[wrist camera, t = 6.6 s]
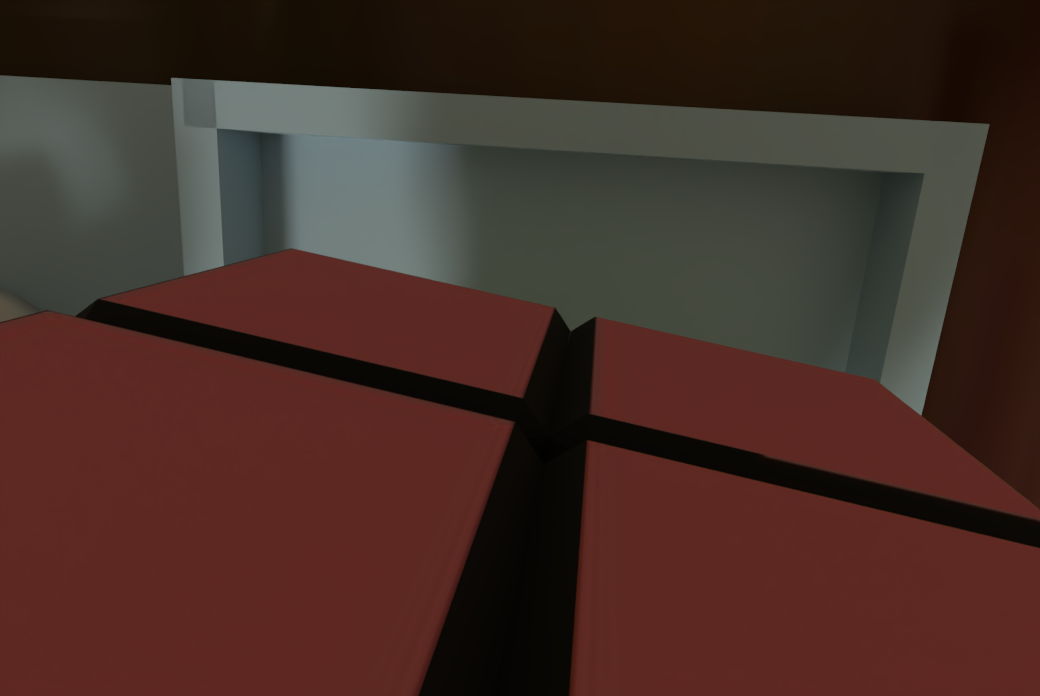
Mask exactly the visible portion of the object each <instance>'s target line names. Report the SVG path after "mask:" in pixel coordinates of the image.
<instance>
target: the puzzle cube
mask: <svg viewBox="0 0 1040 696" xmlns="http://www.w3.org/2000/svg"><path fill="white" fill-rule="evenodd" d="M570 332H571V333H570ZM568 341H569V342H568ZM0 696H1040V509H1039V508H1037V507H1036V506H1035V505H1033V504H1032V503H1031V502H1030V501H1028V500H1027V499H1026V498H1025V497H1023V496H1022V495H1021V494H1020V493H1018V492H1017V491H1016V490H1014V489H1013V488H1012V487H1011V486H1009V485H1008V484H1007V483H1006V482H1004V481H1003V480H1002V479H1001V478H999V477H998V476H997V475H995V474H994V473H993V472H992V471H990V470H989V469H988V468H987V467H985V466H984V465H983V464H982V463H980V462H979V461H978V460H977V459H975V458H974V457H973V456H971V455H970V454H969V453H968V452H966V451H965V450H964V449H963V448H961V447H960V446H959V445H958V444H956V443H955V442H954V441H952V440H951V439H950V438H949V437H947V436H946V435H945V434H944V433H942V432H941V431H940V430H939V429H937V428H936V427H935V426H933V425H932V424H931V423H930V422H928V421H927V420H926V419H925V418H923V417H922V416H921V415H920V414H918V413H917V412H916V411H914V410H913V409H912V408H911V407H909V406H908V405H907V404H906V403H904V402H903V401H902V400H901V399H899V398H898V397H897V396H895V395H894V394H893V393H892V392H890V391H889V390H888V389H887V388H885V387H884V386H883V385H882V384H880V383H879V382H878V381H876V380H875V379H871V378H867V377H862V376H858V375H854V374H849V373H845V372H840V371H836V370H831V369H827V368H822V367H818V366H814V365H809V364H805V363H800V362H796V361H791V360H787V359H782V358H778V357H773V356H769V355H765V354H760V353H756V352H751V351H747V350H742V349H738V348H733V347H729V346H725V345H720V344H716V343H711V342H707V341H702V340H698V339H693V338H689V337H684V336H680V335H676V334H671V333H667V332H662V331H658V330H653V329H649V328H644V327H640V326H636V325H631V324H627V323H622V322H618V321H613V320H609V319H604V318H600V317H593V318H592V319H590V320H588V321H587V322H585V323H584V324H582V325H580V326H579V327H577V328H575V329H574V330H572V331H570V329H569V328H568V326H567V325H566V323H565V322H564V320H563V318H562V317H561V315H560V314H559V312H558V311H557V309H556V308H555V307H551V306H547V305H542V304H538V303H533V302H529V301H524V300H520V299H515V298H511V297H507V296H502V295H498V294H493V293H489V292H484V291H480V290H475V289H471V288H466V287H462V286H458V285H453V284H449V283H444V282H440V281H435V280H431V279H426V278H422V277H418V276H413V275H409V274H404V273H400V272H395V271H391V270H386V269H382V268H377V267H373V266H369V265H364V264H360V263H355V262H351V261H346V260H342V259H337V258H333V257H329V256H324V255H320V254H315V253H311V252H306V251H302V250H297V249H293V248H291V249H287V250H283V251H279V252H275V253H271V254H267V255H264V256H260V257H256V258H252V259H248V260H244V261H241V262H237V263H233V264H229V265H225V266H221V267H218V268H214V269H210V270H206V271H202V272H198V273H195V274H191V275H187V276H183V277H179V278H175V279H171V280H168V281H164V282H160V283H156V284H152V285H148V286H145V287H141V288H137V289H133V290H129V291H125V292H122V293H118V294H114V295H110V296H106V297H102V298H99V299H97V300H95V301H94V302H93V303H92V304H90V305H89V306H88V307H86V308H85V309H84V310H82V311H81V312H80V313H79V314H77V315H76V316H71V315H66V314H62V313H58V312H54V311H50V310H46V311H42V312H38V313H34V314H30V315H26V316H22V317H18V318H15V319H11V320H7V321H3V322H0Z"/></svg>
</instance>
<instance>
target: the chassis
mask: <svg viewBox="0 0 1040 696" xmlns="http://www.w3.org/2000/svg"><path fill="white" fill-rule="evenodd" d="M988 129H989V124H978V123H960V122H943V121H925V120H907V119H890V118H872V117H854V116H837V115H819V114H801V113H784V112H766V111H748V110H731V109H713V108H695V107H678V106H660V105H642V104H625V103H607V102H590V101H572V100H554V99H537V98H519V97H501V96H484V95H466V94H448V93H431V92H413V91H395V90H378V89H360V88H342V87H325V86H307V85H289V84H272V83H254V82H237V81H219V80H201V79H184V78H171V85H157V84H140V83H123V82H105V81H88V80H71V79H54V78H36V77H19V76H2V75H0V322H3V321H7V320H11V319H15V318H18V317H22V316H26V315H30V314H34V313H38V312H42V311H46V310H50V311H54V312H58V313H62V314H66V315H71V316H76V315H77V314H79V313H80V312H81V311H82V310H84V309H85V308H86V307H88V306H89V305H90V304H92V303H93V302H94V301H95V300H97V299H99V298H102V297H106V296H110V295H114V294H118V293H122V292H125V291H129V290H133V289H137V288H141V287H145V286H148V285H152V284H156V283H160V282H164V281H168V280H171V279H175V278H179V277H183V276H187V275H191V274H195V273H198V272H202V271H206V270H210V269H214V268H218V267H221V266H225V265H229V264H233V263H237V262H241V261H244V260H248V259H252V258H256V257H260V256H264V255H267V254H271V253H275V252H279V251H283V250H287V249H291V248H293V249H297V250H302V251H306V252H311V253H315V254H320V255H324V256H329V257H333V258H337V259H342V260H346V261H351V262H355V263H360V264H364V265H369V266H373V267H377V268H382V269H386V270H391V271H395V272H400V273H404V274H409V275H413V276H418V277H422V278H426V279H431V280H435V281H440V282H444V283H449V284H453V285H458V286H462V287H466V288H471V289H475V290H480V291H484V292H489V293H493V294H498V295H502V296H507V297H511V298H515V299H520V300H524V301H529V302H533V303H538V304H542V305H547V306H551V307H555V308H556V309H557V311H558V312H559V314H560V315H561V317H562V318H563V320H564V322H565V323H566V325H567V326H568V328H569V329H570V331H572V330H574V329H575V328H577V327H579V326H580V325H582V324H584V323H585V322H587V321H588V320H590V319H592V318H593V317H600V318H604V319H609V320H613V321H618V322H622V323H627V324H631V325H636V326H640V327H644V328H649V329H653V330H658V331H662V332H667V333H671V334H676V335H680V336H684V337H689V338H693V339H698V340H702V341H707V342H711V343H716V344H720V345H725V346H729V347H733V348H738V349H742V350H747V351H751V352H756V353H760V354H765V355H769V356H773V357H778V358H782V359H787V360H791V361H796V362H800V363H805V364H809V365H814V366H818V367H822V368H827V369H831V370H836V371H840V372H845V373H849V374H854V375H858V376H862V377H867V378H871V379H875V380H876V381H878V382H879V383H880V384H882V385H883V386H884V387H885V388H887V389H888V390H889V391H890V392H892V393H893V394H894V395H895V396H897V397H898V398H899V399H901V400H902V401H903V402H904V403H906V404H907V405H908V406H909V407H911V408H912V409H913V410H914V411H916V412H917V413H918V414H920V415H922V411H923V406H924V402H925V398H926V393H927V389H928V385H929V381H930V376H931V372H932V368H933V364H934V359H935V355H936V351H937V346H938V342H939V338H940V334H941V329H942V325H943V321H944V317H945V312H946V308H947V304H948V299H949V295H950V291H951V287H952V282H953V278H954V274H955V270H956V265H957V261H958V257H959V253H960V248H961V244H962V240H963V235H964V231H965V227H966V223H967V218H968V214H969V210H970V206H971V201H972V197H973V193H974V188H975V184H976V180H977V176H978V171H979V167H980V163H981V159H982V154H983V150H984V146H985V141H986V137H987V133H988ZM570 333H571V332H570ZM568 342H569V341H568Z"/></svg>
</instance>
